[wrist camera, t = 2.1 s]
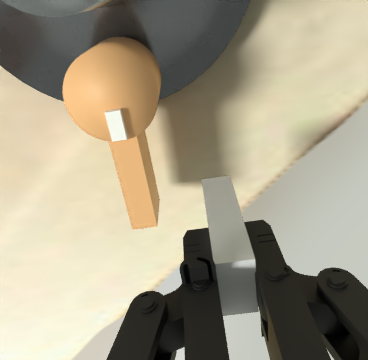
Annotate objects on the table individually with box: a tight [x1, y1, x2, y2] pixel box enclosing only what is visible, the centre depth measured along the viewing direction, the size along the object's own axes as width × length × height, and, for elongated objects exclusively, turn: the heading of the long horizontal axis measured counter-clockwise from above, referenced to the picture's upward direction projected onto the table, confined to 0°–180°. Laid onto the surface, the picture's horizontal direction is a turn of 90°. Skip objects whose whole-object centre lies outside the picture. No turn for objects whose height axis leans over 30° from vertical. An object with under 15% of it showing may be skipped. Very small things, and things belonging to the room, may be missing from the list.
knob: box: [63, 37, 161, 229], centre depth 21 cm, size 11×5×5 cm, turn 8°
